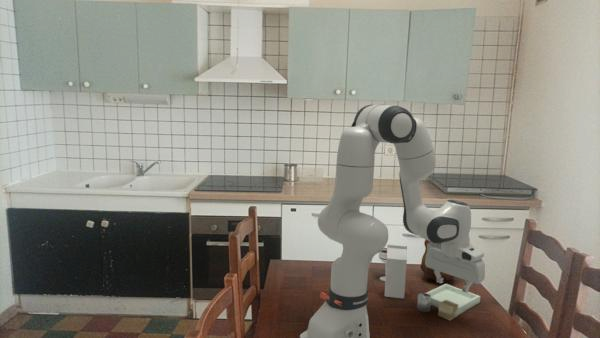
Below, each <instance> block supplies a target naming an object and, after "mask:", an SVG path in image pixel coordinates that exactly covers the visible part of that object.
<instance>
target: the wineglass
mask: <svg viewBox="0 0 600 338" xmlns="http://www.w3.org/2000/svg"><path fill="white" fill-rule="evenodd" d="M378 257H379V260H380V261H381V262H382V263H384V265H386V260H387V247H384V249H383V250H382V251H381V252H379V253H378ZM385 277H386V269H385V275H383V276H380V277H379V280H381V281H384V282H385Z"/></svg>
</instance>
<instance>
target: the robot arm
mask: <svg viewBox="0 0 600 338" xmlns="http://www.w3.org/2000/svg"><path fill="white" fill-rule="evenodd" d="M430 136H431V135H430V134H429V131H428V129H427V126H426V124H425V122H424V121H423V120H422V119H421V118H419V117H415V116H413V114H412V113H411V112H410V110H408V109H406V108H404V107H403V106H399V105H391V104H386V103H379V104H368V105H365V106H363V107H361V108H360V109H359V110H358V111H357V112H356V114H355V116H354V120H353V122H352V124H351V126H350V127H348V128H346V129H344V130H343V131H342V133H341V135H340V139H339V144H338V146H337V147H338V149H337V155H336V163H335V164H336V166H335V182H334V188H333V193H332V196H331V199H330V200H329V202H328V205H326V206H325V207H323V208H322V210H321V211H320V213H319V214H318V217H317V226H318V229H319V230H320V232H321V233H322V234H323V235H325V236H326V237H327V238H328V239H330V240H331V241H334V242H335V243H336V242H337V243H338V244H341V245H342V252H341V256H340V257H338V258H336V259H334V260H333V262H332V264H331V266H330V267H331V268H330V269H331V270H330V286H329V287H328V290H327V293H326V292H325V291H322V292H320V294H319V298H320V299H321V300H324V302H323V304H322V305H321V306H320V307H319V308H318V310H317V311H316V312H314V314H313V316H311V317H310V320H309V322H308V325H307V326H308V327H307V329H306V330H305V331H303V332H302V333H300V335H299V338H371V337H370V336H371V333H370V325H369V323H370V322H369V315H368V314H369V313H368V309H367V304H368V301H369V290H368V287H367V286H368V278H369V277H368V276H369V270H370V269H369V268H370V265H371V262H372V260H373V258H374V256H376V255H377V254H379V252H381V251H382V250H383V249H384V248H386V246H387V245H388V240H389V229H388V227H387V225H386V224H385V223H384V222H382V221H381V220H379V218H376V217H375V216H373V215H370V214H367V213H363V212H361V211H360V208H361V207H360V206H361V204H362V201H363V200H364V198H366V197H368V196H370V195H371V194H372V192H373V188H374V174H375V158H376V157H375V155H376V150H377V147H378V145H379V144H380V143H385V144H386V143H389V144H393V146H394V149H395V154H396V157H397V160H398V164H399V166H398V167H399V174H398V175H399V183H400V189H401V190H400V191H401V195H402V196H401V197H402V202H403V213H402V214H403V215H402V223H403V226H404V228H405V230H406V231H407V232H408V233H411V234H413V235H415V236H418V237H420V238H422V239H424V240H428V241H430V243H428V244H427V254H426V259H425V265H426V267H428V268H431V269H434V273H435V275H436V278H437V281H436V283H439V284H442V283H443V277H441V275H440V272H443V273H446V274H449V275H452V276H455V277H456V278H458V279H462V280H463V281H465V283H466V285H463V286H462V287H461V289H462V291H463V292H465V293H467V292H470V287H471V285H473V284H476V285H478V284H481V283H482V282H483V281H485V278H486V265H485V261H484V260H483V258H484V257H485V253H484V251H483V250H481V249H480V248H478V247H476V246H474V245H473V244H472V243H471V242H470V241H471V239H470V231H471V227H472V211H471V207H470V205H469V204H468V203H466V202H463V201H461V200H455V199H447V200H446V201H445V203H444V204H443V205H442V206H441V207H439V208H438V209H435V210H432V209H429V208H428V207H427V206H426V205H425V204H424V202H423V199H422V191H421V186H420V185H421V183H420V182H421V181H422V180H424V179H426V178H428V177H429V176H430V175H432V174H433V172H434V171H435V169H436V167H437V163H436V161H437V159H436V154H435V149H434V146H433V142H432V140H431V137H430ZM439 243H441V244H439ZM455 277H454V278H455ZM443 284H444V283H443Z"/></svg>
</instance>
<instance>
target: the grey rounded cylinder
mask: <svg viewBox="0 0 600 338" xmlns="http://www.w3.org/2000/svg"><path fill="white" fill-rule="evenodd" d="M426 293H427V292H425V293H424V292H420V293H418V294H417V300H416V301H417V302H416V309H417V311H418V312H422V313H429V312H431V305H430V302H431V296H430V295H429V294H426Z"/></svg>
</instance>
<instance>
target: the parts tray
mask: <svg viewBox="0 0 600 338" xmlns="http://www.w3.org/2000/svg"><path fill="white" fill-rule="evenodd" d="M462 290H463V289H462V288H458V287H456V286H453V285H451V284H448V283H443V284H442V285H440V286H438V287H436V288H435V287H434V288H433V289H431V290H429V291H427V292H425V293H426V294H429V295H430V296H431V302H430V306H433V307H435V308H437V309H439V303H441V302H443V301H444V300H448V301H451V302H454V303H456V304H458V312H457V316H460V315H461V314H462V313H464V312H466V311H468V310H470V309H472V308H473V307H475V306H477V305H478V304H480V302H481V295H478V294H475V293H473V292H470V291H469V292H467V293H465V292H463V291H462Z"/></svg>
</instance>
